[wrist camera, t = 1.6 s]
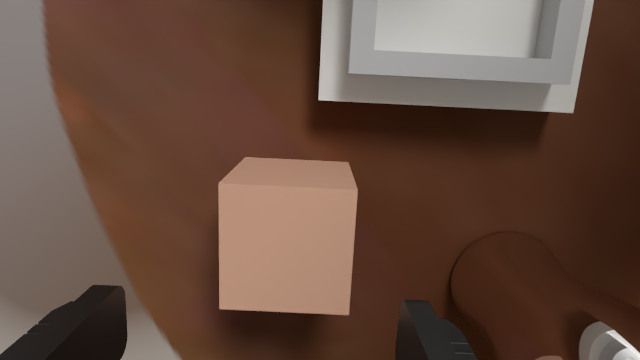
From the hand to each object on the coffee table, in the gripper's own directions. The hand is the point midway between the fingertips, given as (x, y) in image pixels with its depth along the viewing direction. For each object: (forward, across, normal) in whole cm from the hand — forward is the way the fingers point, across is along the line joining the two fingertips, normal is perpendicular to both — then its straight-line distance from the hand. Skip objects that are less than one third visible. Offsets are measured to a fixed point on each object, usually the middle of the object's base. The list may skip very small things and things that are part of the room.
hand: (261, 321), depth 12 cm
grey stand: (+11, -7, -12) cm, 18 cm away
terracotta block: (+11, 0, 0) cm, 11 cm away
